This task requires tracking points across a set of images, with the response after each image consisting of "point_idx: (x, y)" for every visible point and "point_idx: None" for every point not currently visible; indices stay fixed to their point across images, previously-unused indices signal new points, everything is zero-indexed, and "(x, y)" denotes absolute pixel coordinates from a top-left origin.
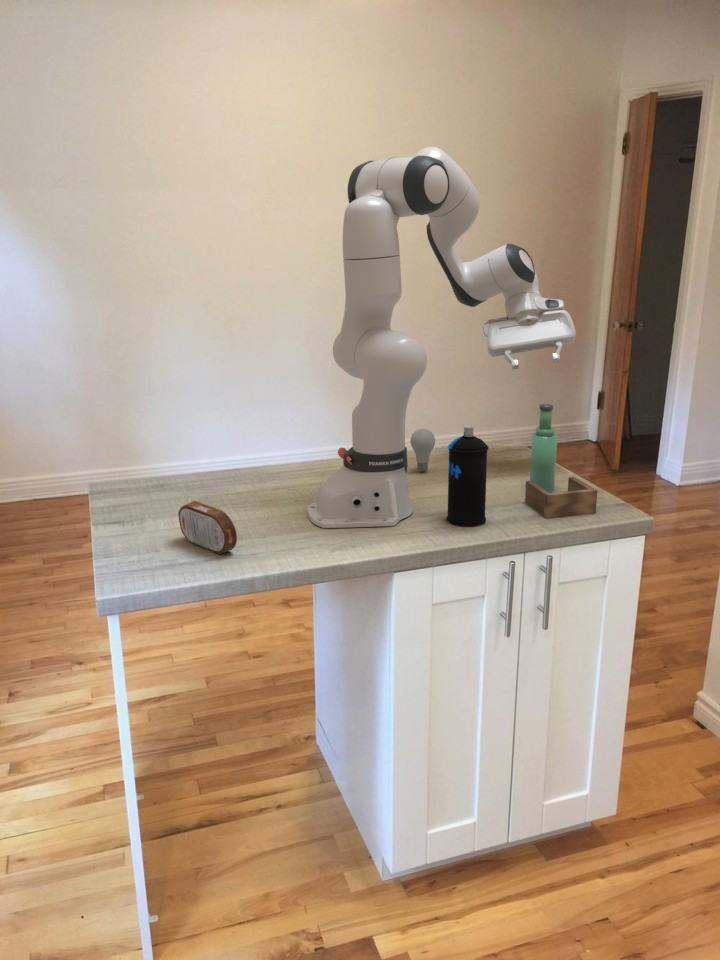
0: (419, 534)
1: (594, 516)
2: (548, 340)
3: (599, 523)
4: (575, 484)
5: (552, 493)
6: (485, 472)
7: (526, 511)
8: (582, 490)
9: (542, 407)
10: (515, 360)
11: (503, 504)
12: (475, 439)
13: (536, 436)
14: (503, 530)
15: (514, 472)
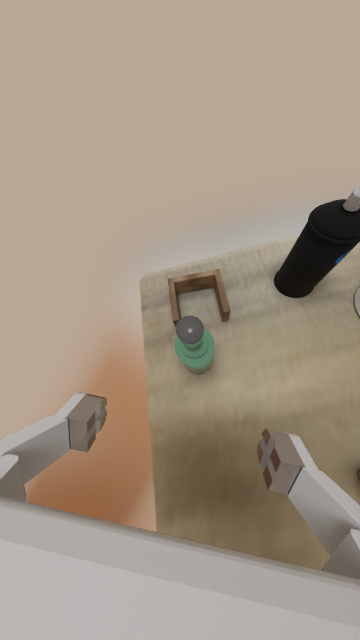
0: None
1: None
2: (27, 507)
3: (178, 270)
4: (177, 307)
5: (212, 273)
6: (297, 239)
7: (231, 298)
8: (181, 279)
9: (200, 321)
10: (290, 457)
11: (250, 318)
12: (336, 204)
13: (210, 335)
14: (260, 260)
15: (213, 437)
